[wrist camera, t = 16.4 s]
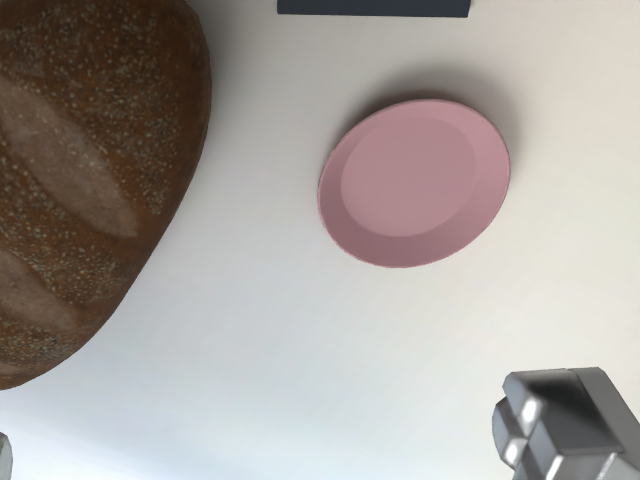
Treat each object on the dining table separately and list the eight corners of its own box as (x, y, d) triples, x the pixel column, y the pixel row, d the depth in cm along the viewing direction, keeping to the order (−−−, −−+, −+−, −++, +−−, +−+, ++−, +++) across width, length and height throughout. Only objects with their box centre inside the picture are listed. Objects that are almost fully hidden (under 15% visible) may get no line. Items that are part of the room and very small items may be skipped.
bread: (274, 42, 37) (282, 95, 30) (55, 382, 52) (29, 466, 46) (20, -124, 30) (-42, -106, 23) (-143, 321, 46) (-209, 409, 39)
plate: (275, 184, 43) (276, 198, 41) (425, 44, 38) (434, 54, 36) (395, 280, 50) (400, 296, 48) (535, 173, 45) (546, 186, 43)
